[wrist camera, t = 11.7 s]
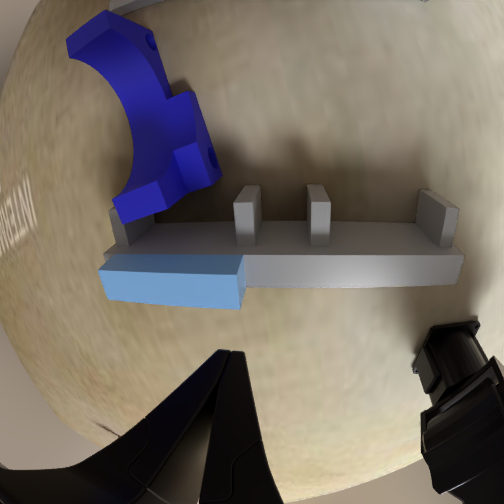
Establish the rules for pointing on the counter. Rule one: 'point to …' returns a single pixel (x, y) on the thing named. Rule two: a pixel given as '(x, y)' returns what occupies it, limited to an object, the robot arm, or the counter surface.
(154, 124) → the cable clip
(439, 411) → the robot arm
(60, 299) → the counter surface
